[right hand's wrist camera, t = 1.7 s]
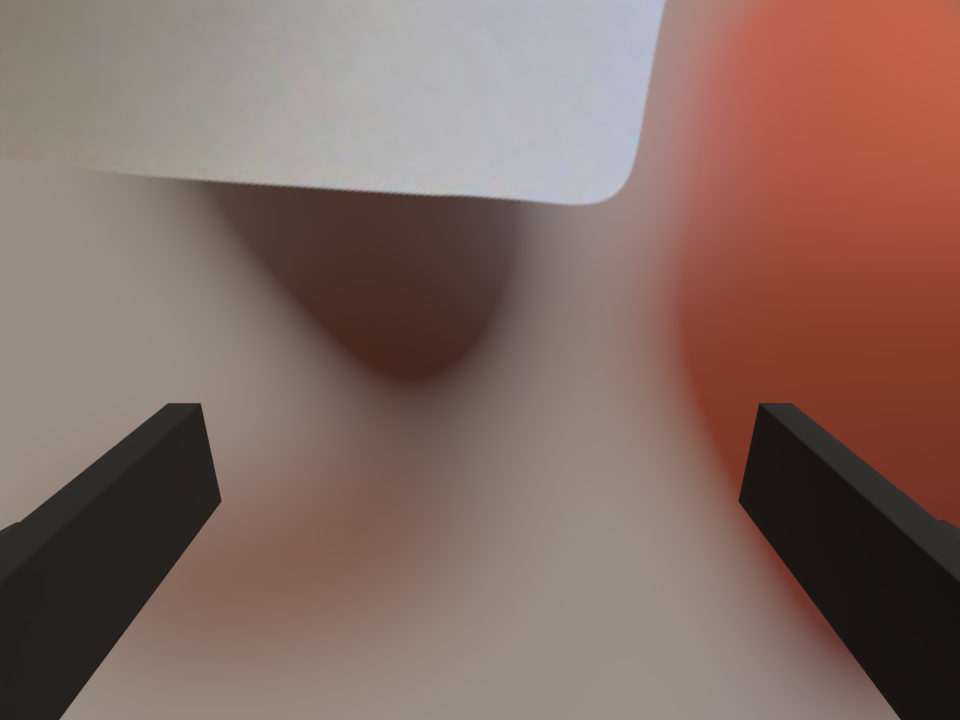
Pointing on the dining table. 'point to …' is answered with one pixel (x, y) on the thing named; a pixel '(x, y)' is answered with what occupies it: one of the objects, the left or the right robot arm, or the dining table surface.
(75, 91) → the dining table surface
